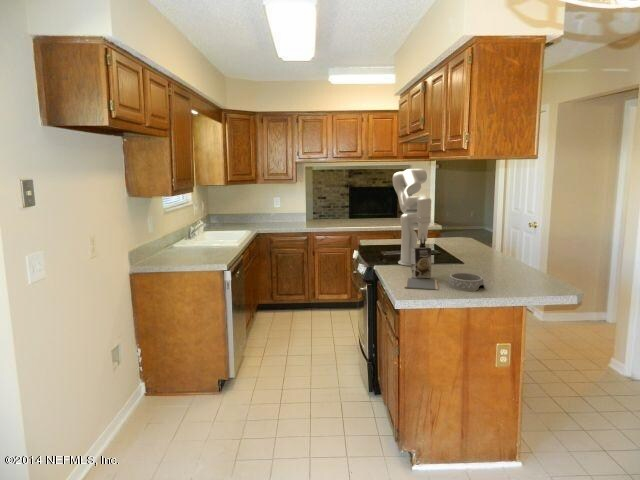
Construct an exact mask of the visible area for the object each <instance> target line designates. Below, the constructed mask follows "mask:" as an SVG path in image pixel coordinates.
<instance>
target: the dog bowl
mask: <svg viewBox="0 0 640 480" xmlns="http://www.w3.org/2000/svg"><path fill="white" fill-rule="evenodd" d="M446 283H447V284H446V285H447V286H448V287H449V288H451V289H453V290H457V291H462V290H463V291H465V292H477V291H476V290H479V289H480V288H479V287H480V286H483V287H485V282H484V278H483V276H481V275H479V274H476V273H471V272H453V273H451V274H449V277H448V281H447V282H446Z"/></svg>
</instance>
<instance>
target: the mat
mask: <svg viewBox="0 0 640 480" xmlns="http://www.w3.org/2000/svg"><path fill="white" fill-rule="evenodd" d="M404 289H412V290H428V291H439V290H438V279H434V278H433V279H431V278H413V277H406V278H405V283H404Z"/></svg>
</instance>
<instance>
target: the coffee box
mask: <svg viewBox="0 0 640 480" xmlns="http://www.w3.org/2000/svg"><path fill="white" fill-rule="evenodd" d="M410 268H411V269H410V276H411V277H410V278H416V279H431V278H432V248H431V247H426V248H420V247H417V248H411V266H410Z"/></svg>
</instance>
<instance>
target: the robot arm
mask: <svg viewBox="0 0 640 480" xmlns="http://www.w3.org/2000/svg"><path fill="white" fill-rule="evenodd" d="M427 179H428V174H427V171H426V170H425V169H424V168H407V169H405V170H403V171H397V172H395V173H394V174H393V175H392V185H393V188H394V190H395V193H396V195H397V198H398V203H399V209H400V211H401V212H402V214H401V215H400V227H401V229H400V231H401V238H400V239H401V242H400V244H401V245H400V246H401V247H400V259H399V260H398V261H397V263H398V264H399V265H402V266H405V267H406V266H408V267H411V248H418V242H419V248H427V246H426V242H427V240H428V233H429V226H430V224H431V220H432V219H431V218H432V217H431V215H432V199H431V198H430V197H428V196H427V195H426V196H425V195H420V196H419V195H415V194H417V193H419V192H420V190H421V189H422V184H424V183H426V182H427ZM414 229H417V232H416V231H415V230H414Z"/></svg>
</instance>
